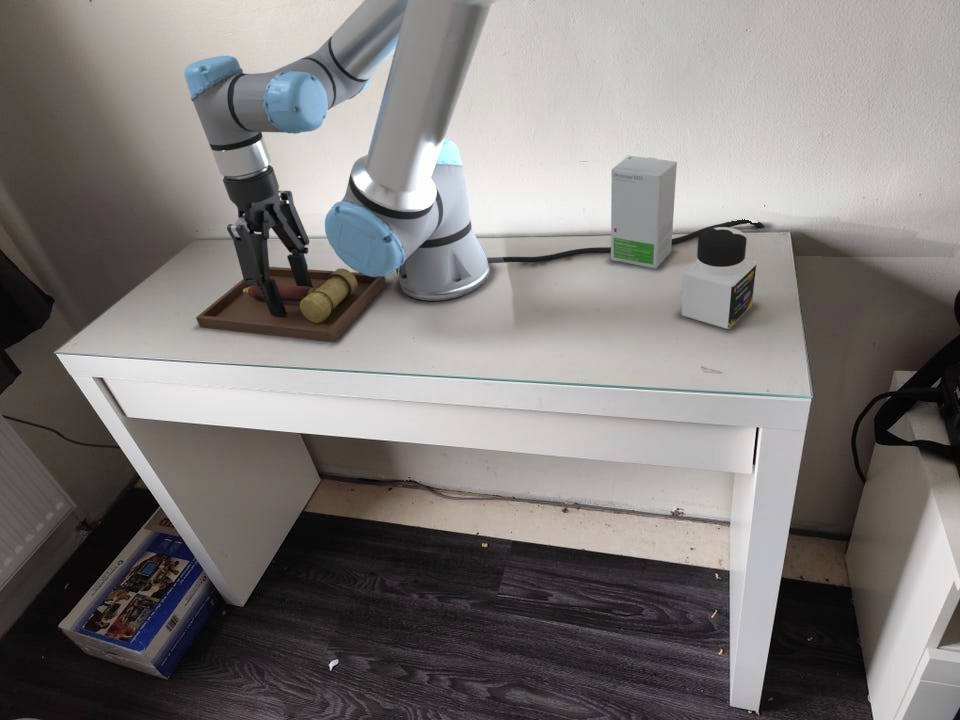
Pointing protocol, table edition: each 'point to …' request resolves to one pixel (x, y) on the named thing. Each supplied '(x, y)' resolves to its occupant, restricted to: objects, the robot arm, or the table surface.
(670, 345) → the table surface
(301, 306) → the gavel
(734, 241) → the medicine bottle
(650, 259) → the cosmetic box
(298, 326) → the tray
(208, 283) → the table surface
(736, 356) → the table surface
